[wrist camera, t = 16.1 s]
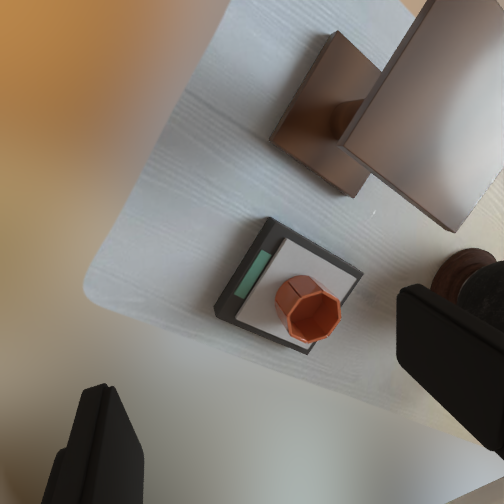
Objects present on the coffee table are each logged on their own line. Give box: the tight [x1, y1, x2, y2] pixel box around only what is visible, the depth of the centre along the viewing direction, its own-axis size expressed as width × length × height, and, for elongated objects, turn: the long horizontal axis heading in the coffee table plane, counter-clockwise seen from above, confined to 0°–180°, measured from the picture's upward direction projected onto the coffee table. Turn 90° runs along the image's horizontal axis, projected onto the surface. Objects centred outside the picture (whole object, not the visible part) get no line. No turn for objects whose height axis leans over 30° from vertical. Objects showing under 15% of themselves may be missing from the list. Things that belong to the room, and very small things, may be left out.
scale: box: [214, 217, 364, 355], centre depth 40 cm, size 14×13×3 cm
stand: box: [269, 0, 504, 233], centre depth 29 cm, size 12×12×16 cm
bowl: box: [275, 275, 341, 344], centre depth 37 cm, size 6×6×4 cm
